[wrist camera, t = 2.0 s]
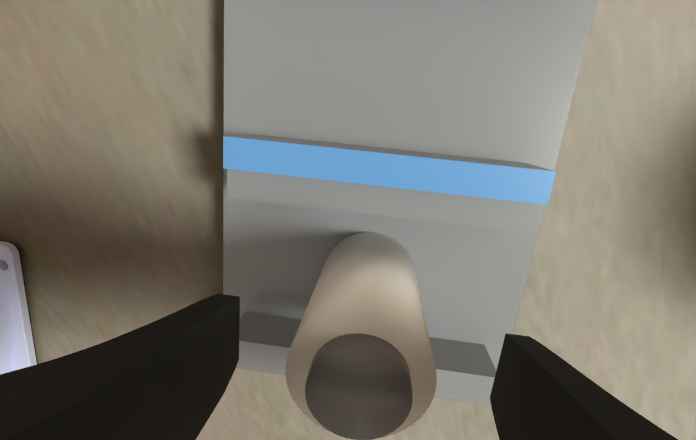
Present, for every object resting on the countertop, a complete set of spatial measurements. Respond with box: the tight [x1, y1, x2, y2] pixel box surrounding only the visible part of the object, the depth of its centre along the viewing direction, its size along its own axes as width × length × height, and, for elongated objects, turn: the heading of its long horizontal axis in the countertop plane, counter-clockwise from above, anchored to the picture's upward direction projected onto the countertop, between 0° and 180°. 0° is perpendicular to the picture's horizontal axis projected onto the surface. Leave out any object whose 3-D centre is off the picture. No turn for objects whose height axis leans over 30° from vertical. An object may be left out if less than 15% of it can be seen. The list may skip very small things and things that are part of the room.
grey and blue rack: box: [223, 0, 597, 406], centre depth 13 cm, size 16×12×3 cm
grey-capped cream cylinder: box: [286, 232, 437, 440], centre depth 11 cm, size 4×4×7 cm
